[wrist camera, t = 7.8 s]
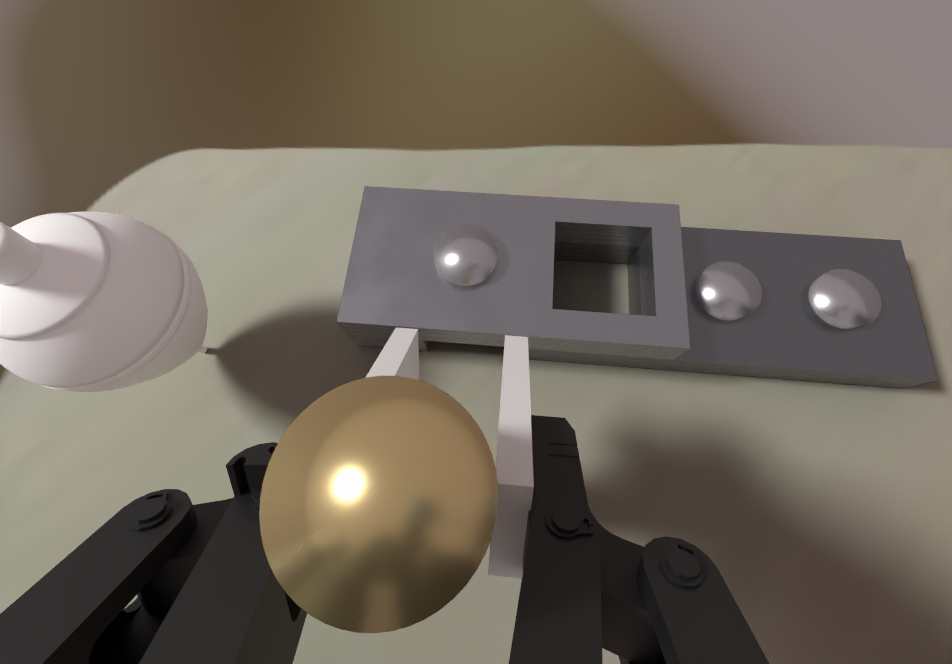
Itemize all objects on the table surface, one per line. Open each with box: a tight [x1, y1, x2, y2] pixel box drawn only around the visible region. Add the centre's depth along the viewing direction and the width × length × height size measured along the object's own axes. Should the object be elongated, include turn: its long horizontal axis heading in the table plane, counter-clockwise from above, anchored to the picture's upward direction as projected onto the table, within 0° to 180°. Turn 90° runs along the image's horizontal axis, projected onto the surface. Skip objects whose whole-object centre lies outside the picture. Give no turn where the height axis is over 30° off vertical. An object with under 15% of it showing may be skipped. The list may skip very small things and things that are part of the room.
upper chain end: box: [337, 186, 690, 360], centre depth 24 cm, size 17×8×5 cm, turn 85°
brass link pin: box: [259, 376, 498, 633], centre depth 11 cm, size 3×3×12 cm
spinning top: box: [0, 212, 208, 392], centre depth 19 cm, size 8×8×12 cm
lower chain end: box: [528, 227, 938, 388], centre depth 24 cm, size 21×8×3 cm, turn 85°
